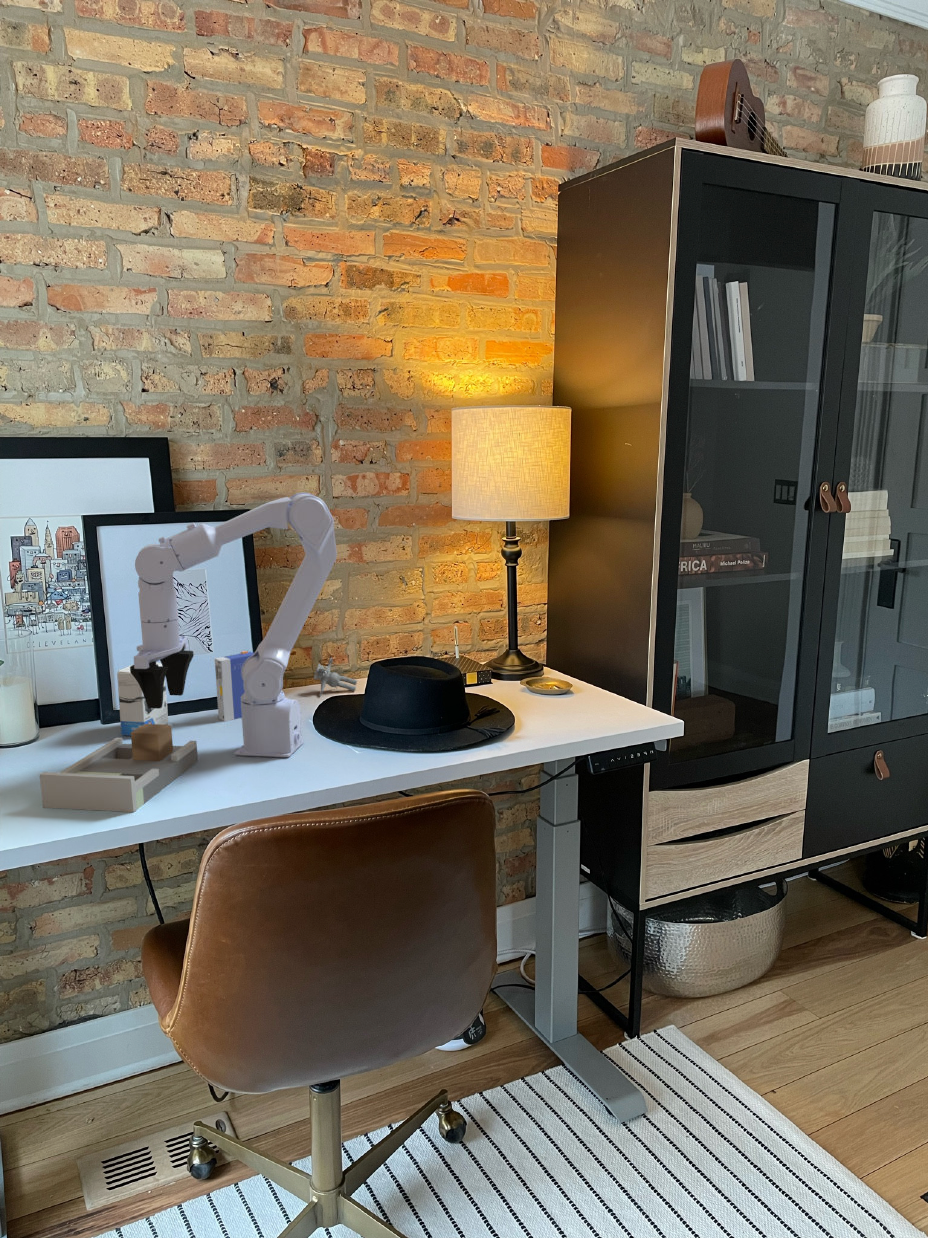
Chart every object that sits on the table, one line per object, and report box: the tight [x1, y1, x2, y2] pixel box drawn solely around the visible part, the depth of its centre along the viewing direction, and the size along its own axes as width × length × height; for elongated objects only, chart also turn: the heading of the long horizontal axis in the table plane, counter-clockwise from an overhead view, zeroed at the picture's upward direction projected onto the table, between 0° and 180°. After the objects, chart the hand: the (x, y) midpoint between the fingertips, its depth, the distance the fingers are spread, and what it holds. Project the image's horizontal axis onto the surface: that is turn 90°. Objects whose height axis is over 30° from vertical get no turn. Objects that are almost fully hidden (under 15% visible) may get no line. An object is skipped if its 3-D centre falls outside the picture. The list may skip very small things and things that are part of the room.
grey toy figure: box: [313, 656, 358, 698], centre depth 191 cm, size 10×6×9 cm
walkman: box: [214, 650, 255, 722], centre depth 175 cm, size 8×3×12 cm, turn 133°
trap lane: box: [38, 737, 199, 813], centre depth 142 cm, size 14×21×5 cm, turn 171°
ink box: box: [116, 661, 169, 737], centre depth 167 cm, size 8×5×12 cm, turn 168°
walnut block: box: [130, 724, 174, 761], centre depth 146 cm, size 4×4×4 cm
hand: (166, 701), depth 150 cm, fingers open, 7 cm apart
